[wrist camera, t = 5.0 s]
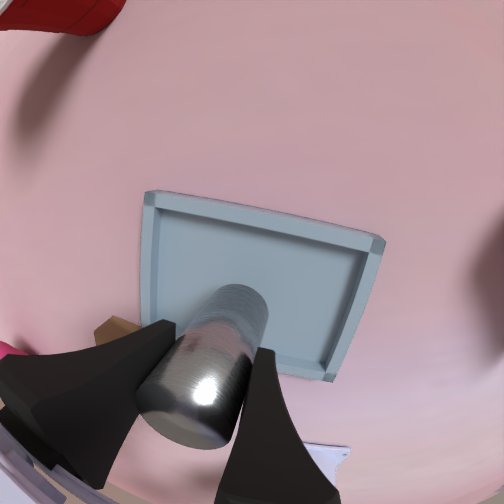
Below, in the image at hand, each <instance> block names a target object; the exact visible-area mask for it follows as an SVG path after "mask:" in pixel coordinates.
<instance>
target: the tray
mask: <svg viewBox="0 0 504 504" xmlns="http://www.w3.org/2000/svg"><path fill="white" fill-rule="evenodd" d="M385 245H386V241H385V240H384V239H383V238H382V237H381V236H379V235H376V234H372V233H369V232H365V231H361V230H357V229H353V228H349V227H344V226H340V225H336V224H332V223H328V222H323V221H319V220H315V219H310V218H306V217H301V216H297V215H292V214H287V213H283V212H278V211H273V210H268V209H263V208H258V207H253V206H248V205H243V204H238V203H232V202H227V201H222V200H216V199H211V198H205V197H199V196H193V195H187V194H181V193H175V192H169V191H162V190H154V191H147V192H145V195H144V206H143V219H142V236H141V263H140V303H141V328H144V327H146V326H148V325H150V324H152V323H155V322H157V321H159V320H162V319H165V320H168V321H171V322H174V323H176V340H177V339H178V338H179V336H180V335H181V334H182V333H183V331H184V330H185V329H186V328H187V326H188V325H189V324H190V323H191V321H192V320H193V319H194V317H195V316H196V315H197V314H198V312H199V311H200V310H201V309H202V307H203V306H204V305H205V304H206V302H207V301H208V300H209V299H210V297H211V296H212V295H213V294H214V292H215V291H216V290H218V289H219V288H220V287H222V286H225V285H228V284H242V285H246V286H248V287H251V288H252V289H254V290H255V291H257V292H258V293H259V294H260V295H261V296H262V297H263V299H264V300H265V302H266V304H267V307H268V311H269V317H268V322H267V325H266V329H265V332H264V335H263V339H262V342H261V346H260V347H262V348H267V349H271V350H274V351H275V353H276V355H275V358H276V369H277V372H279V373H283V374H288V375H293V376H298V377H303V378H309V379H314V380H320V381H326V382H332V383H333V381H334V379H335V377H336V375H337V373H338V371H339V369H340V366H341V364H342V362H343V360H344V358H345V355H346V353H347V351H348V349H349V346H350V344H351V342H352V339H353V337H354V334H355V332H356V330H357V327H358V325H359V322H360V319H361V317H362V314H363V312H364V309H365V306H366V304H367V301H368V298H369V295H370V292H371V289H372V287H373V284H374V281H375V278H376V274H377V271H378V268H379V265H380V262H381V258H382V255H383V252H384V248H385Z"/></svg>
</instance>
